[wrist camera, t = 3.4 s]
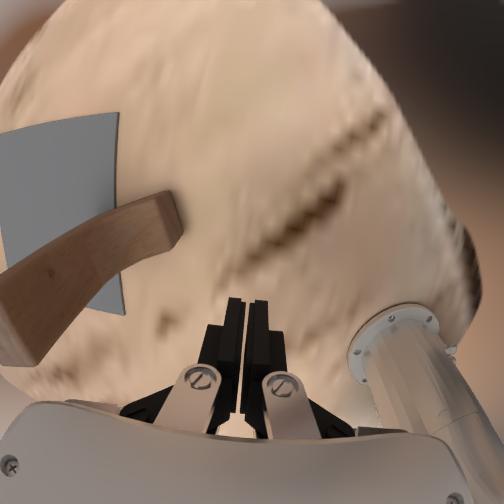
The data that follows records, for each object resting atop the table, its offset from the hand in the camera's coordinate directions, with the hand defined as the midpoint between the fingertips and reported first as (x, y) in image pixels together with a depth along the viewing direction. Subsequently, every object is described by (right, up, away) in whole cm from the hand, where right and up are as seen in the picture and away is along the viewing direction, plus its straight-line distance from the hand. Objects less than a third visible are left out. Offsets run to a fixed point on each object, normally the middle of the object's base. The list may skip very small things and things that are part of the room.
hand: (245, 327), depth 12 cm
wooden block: (-11, +6, +14) cm, 19 cm away
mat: (-24, +7, +14) cm, 29 cm away
